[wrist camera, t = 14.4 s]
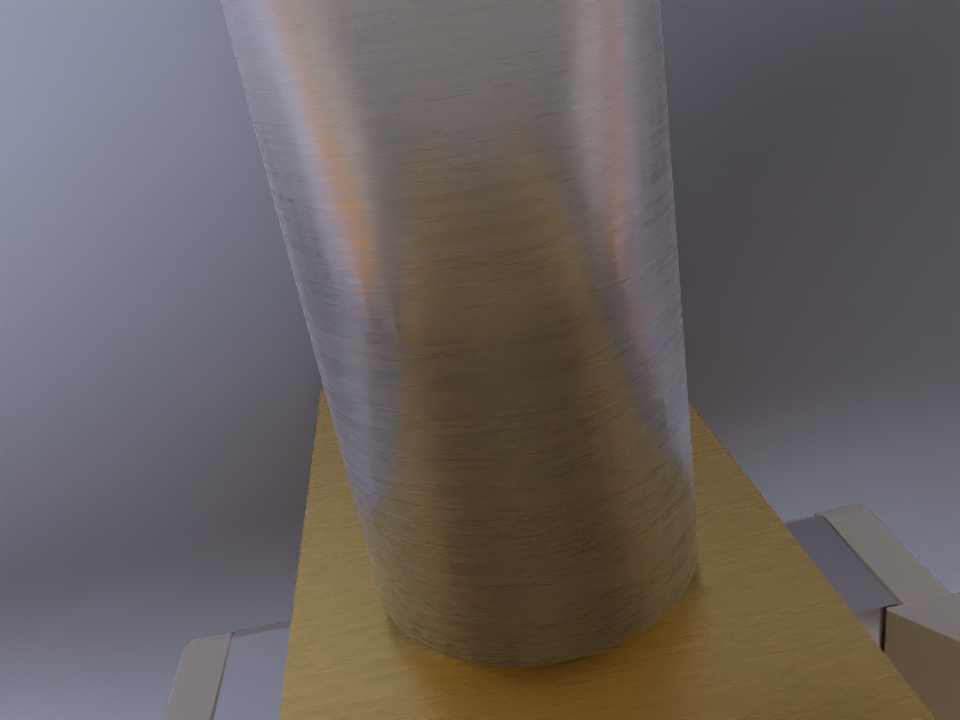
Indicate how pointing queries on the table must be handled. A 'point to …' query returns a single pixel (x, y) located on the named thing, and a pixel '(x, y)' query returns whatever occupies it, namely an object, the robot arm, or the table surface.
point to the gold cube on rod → (516, 386)
